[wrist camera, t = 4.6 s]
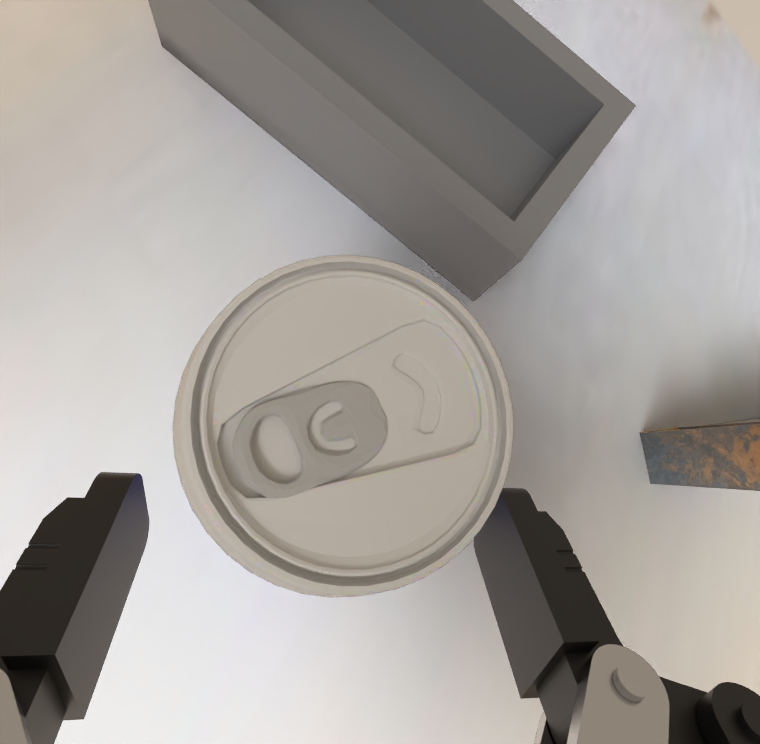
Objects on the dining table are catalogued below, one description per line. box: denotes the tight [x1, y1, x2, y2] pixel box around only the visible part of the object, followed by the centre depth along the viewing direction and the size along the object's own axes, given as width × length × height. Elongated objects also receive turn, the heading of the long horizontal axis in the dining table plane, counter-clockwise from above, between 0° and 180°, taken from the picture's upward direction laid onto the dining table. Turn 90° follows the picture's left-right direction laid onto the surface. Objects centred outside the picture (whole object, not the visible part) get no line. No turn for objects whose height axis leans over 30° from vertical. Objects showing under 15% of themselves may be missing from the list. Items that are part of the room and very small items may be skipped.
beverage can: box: [173, 255, 513, 597], centre depth 13 cm, size 5×5×15 cm
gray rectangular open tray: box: [148, 0, 636, 301], centre depth 22 cm, size 20×10×5 cm, turn 53°
